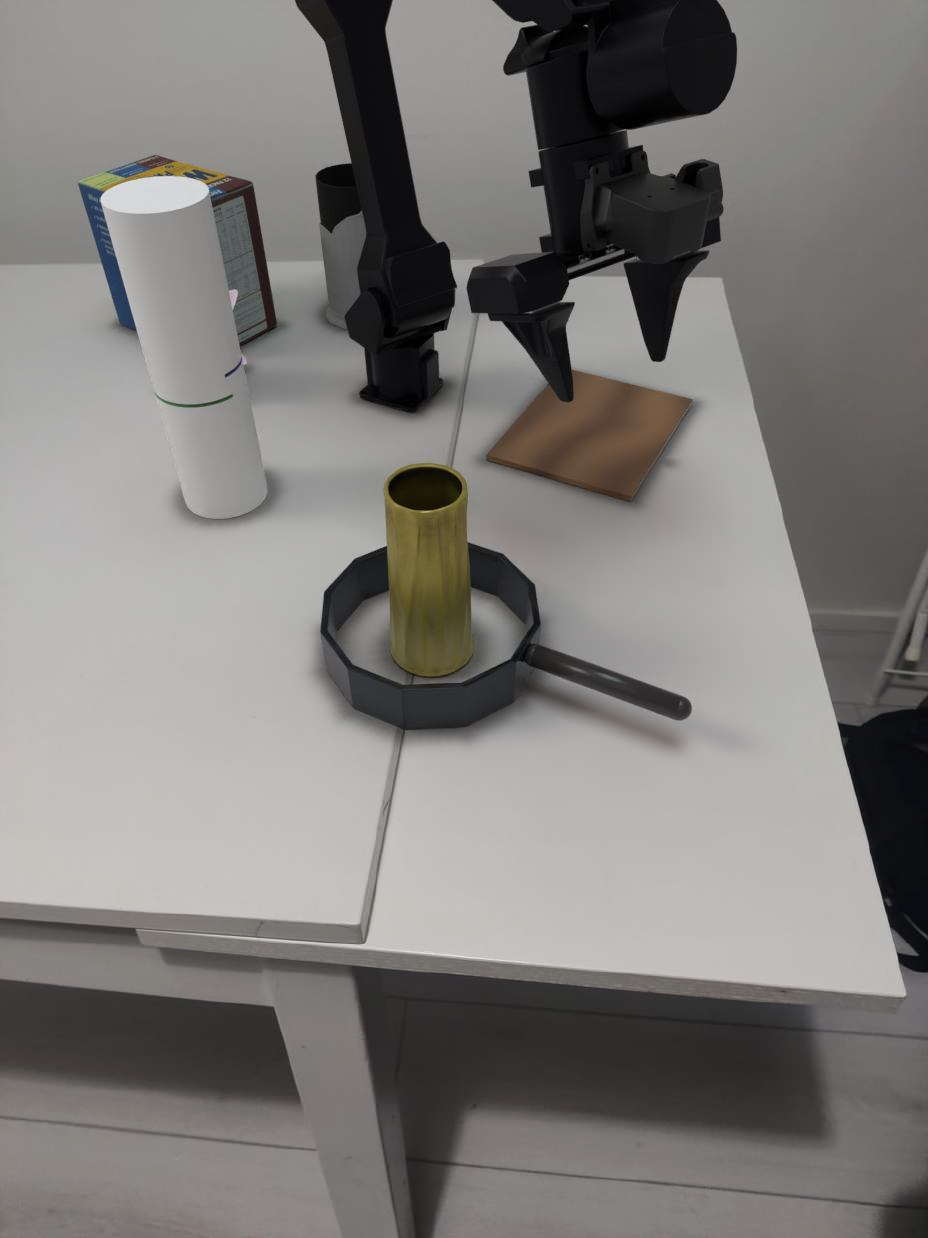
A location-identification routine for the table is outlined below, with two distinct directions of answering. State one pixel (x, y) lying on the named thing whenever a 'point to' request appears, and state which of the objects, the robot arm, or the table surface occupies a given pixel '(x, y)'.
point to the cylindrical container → (188, 339)
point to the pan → (484, 690)
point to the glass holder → (340, 237)
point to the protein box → (233, 228)
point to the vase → (428, 569)
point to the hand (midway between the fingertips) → (614, 380)
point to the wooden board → (593, 435)
